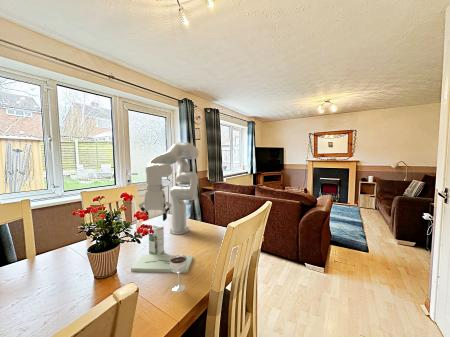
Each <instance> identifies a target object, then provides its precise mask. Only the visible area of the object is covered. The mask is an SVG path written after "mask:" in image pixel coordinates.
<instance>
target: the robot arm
mask: <svg viewBox="0 0 450 337" xmlns="http://www.w3.org/2000/svg"><path fill="white" fill-rule="evenodd" d="M198 157H199V150H198V148H197V147H196V146H195V145H194V144H193V143H190V142H174V143H173V144H172V145H171V146H170V147H169V148H168V149H167V151H166V152H164V153H161V154H159V155H157V156H155V157H154V158H152V159H151V160H150V161H149V162H148V163H147V165H146V166H145V173H146V190H145V195H144V201H143V202H141V203H140V204H138V207H139V209H140V210H141V212H142V213H143V212H146V213H147V215H148V220H149V218H150V217H149V216H150V215H149V211H162V221H163V222H165V221H166V219H168V212H169V211H170V210H171V220H172V221H171V224H172V225H171V228H170V230H169V233H171V234H172V235H184V234H186V233H188V232H189V231H190V230H189V229H190V228H189V227H188V226H187V204H186V202H185V201H193V200H195V198H196V196H197V190H198V185H199V175H198V173H197V172H195V171H190V170H191V166H190V164H189V163H188V161H187V160H196V159H198ZM175 163H177V171H176V175H175V179H174V180H175V183H176V185H174V186H172V187H171V188H170V189H169V195H170V201H171V203H170V202H168V201H166V200H167V199H166V194H165V190H164V189H166V188H165V187H166V186H165V185H163V178H167V177H170V176H171V175H172V173H173V168H172V165H173V164H175ZM166 206H167V208H166Z"/></svg>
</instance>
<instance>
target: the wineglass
mask: <svg viewBox="0 0 450 337" xmlns="http://www.w3.org/2000/svg"><path fill="white" fill-rule="evenodd" d="M174 255H175V254H174ZM186 256H187V255H185V254H176V255H175V256H173V257H171V258H170V269H171V270H172V271H173V272H172V273H173V274H177V284H175V285H174V286H173V287H172V291H173V292H174V293H182V292H183V291H184V290H186V285H185V284H183V283H180V281H181V280H180V279H181V278H180V276H181V272H183V271H184V270H185V269H186V267H187V261H186V260H187V257H186Z"/></svg>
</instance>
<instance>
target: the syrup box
mask: <svg viewBox="0 0 450 337" xmlns="http://www.w3.org/2000/svg"><path fill="white" fill-rule="evenodd" d="M152 229H153V231H154V233H153V234H151V233H150V234H149V233H148V255H162V253H163V252H165V237H164V235H165V232H164V230H165V227H164V226H163V225H159V224H154V225H152Z"/></svg>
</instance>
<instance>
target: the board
mask: <svg viewBox="0 0 450 337" xmlns="http://www.w3.org/2000/svg"><path fill="white" fill-rule="evenodd" d="M173 256H175V254H169V255H168V254H159V255H152V254H142V255H141V257H140V258H139V259H138V260H137V261H136V262H135V263H134V264H133V266H131V268H130V272H138V273H139V272H141V273H143V272H144V273H146V272H147V273H174V272H173V271H172V270H171V269H170V258H171V257H173ZM185 256H186V257H187V260H186V261H187V267H186V269H185V270H184V271H183V272H181V273H182V274H183V273H185V274H187V273H188V272H189V271H190V267H191V266H192V263H193V259H194V255H185ZM181 273H180V274H181Z"/></svg>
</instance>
